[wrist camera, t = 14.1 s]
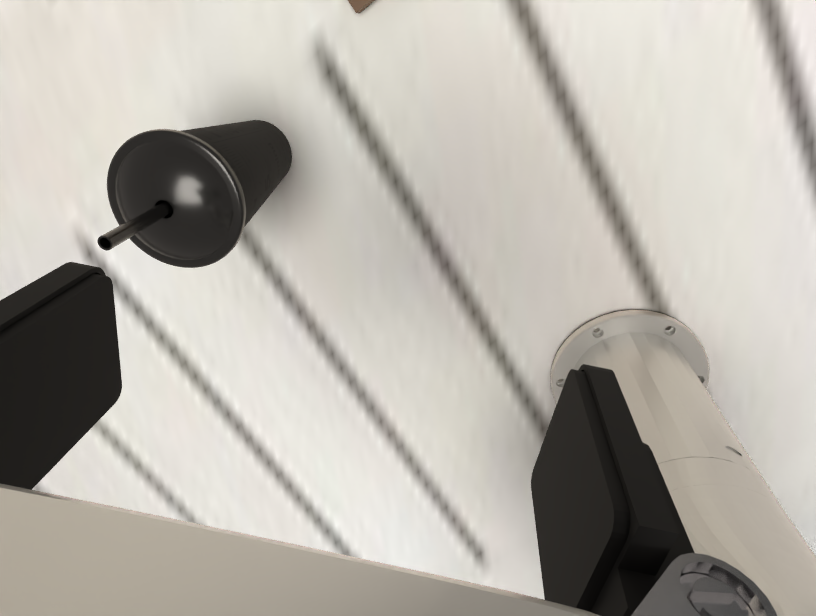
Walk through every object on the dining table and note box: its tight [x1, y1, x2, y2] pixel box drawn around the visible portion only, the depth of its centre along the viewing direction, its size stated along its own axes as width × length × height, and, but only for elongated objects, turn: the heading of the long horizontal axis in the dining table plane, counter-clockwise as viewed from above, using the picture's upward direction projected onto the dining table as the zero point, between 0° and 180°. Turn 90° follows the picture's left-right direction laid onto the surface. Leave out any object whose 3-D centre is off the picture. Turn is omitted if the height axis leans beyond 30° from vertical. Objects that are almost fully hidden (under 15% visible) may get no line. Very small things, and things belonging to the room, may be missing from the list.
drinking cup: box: [98, 120, 292, 268], centre depth 33 cm, size 8×8×20 cm
